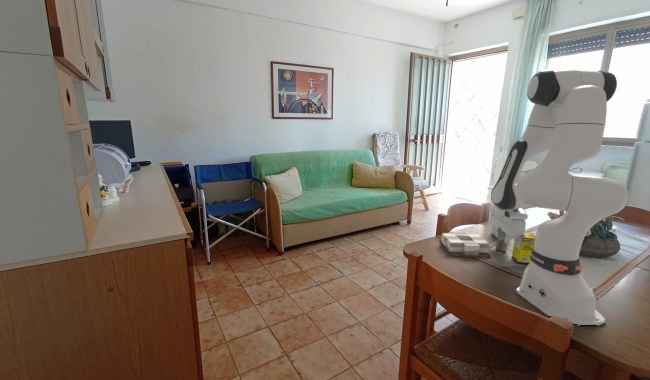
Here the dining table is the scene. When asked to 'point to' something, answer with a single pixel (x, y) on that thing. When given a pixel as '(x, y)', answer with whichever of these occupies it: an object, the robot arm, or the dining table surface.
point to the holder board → (465, 244)
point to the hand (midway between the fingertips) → (502, 240)
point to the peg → (501, 241)
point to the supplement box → (523, 248)
